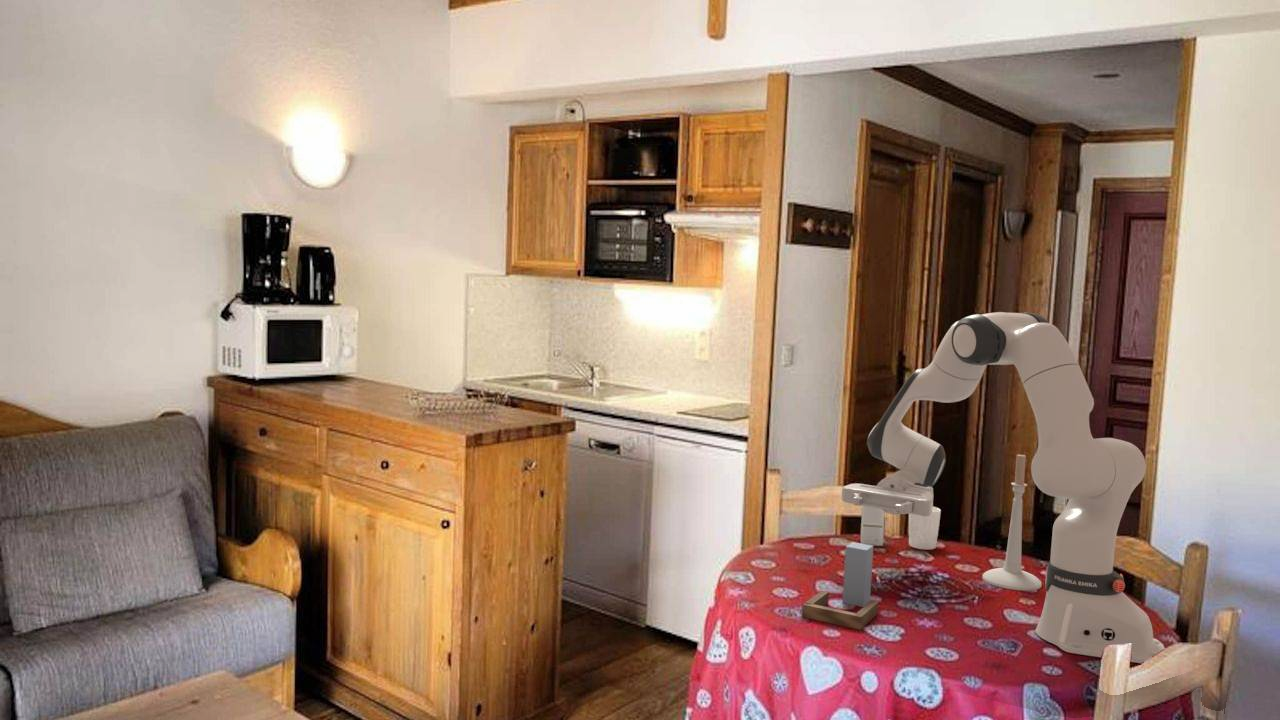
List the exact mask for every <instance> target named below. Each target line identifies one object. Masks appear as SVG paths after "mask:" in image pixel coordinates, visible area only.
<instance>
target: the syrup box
mask: <svg viewBox="0 0 1280 720" xmlns="http://www.w3.org/2000/svg"><path fill="white" fill-rule="evenodd" d="M885 513H886V512H884V511H883V510H882V509H880V508H874V507H868V506H863V505H861V515H860V516H861V518H860V519H861V523H860V543H861V544H867V545H872V546H879V547H880V546H881V547H883V545H884V531H885Z"/></svg>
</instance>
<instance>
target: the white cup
mask: <svg viewBox="0 0 1280 720" xmlns="http://www.w3.org/2000/svg"><path fill="white" fill-rule="evenodd" d="M941 512H942V510H941V509H940V508H939V507H937V506H933V508H932V514H931V515H930V516H921V515H915V514H908V545H909V547H911V548H913V549H918V550H926V551H927V550H935V549H936V547H937V544H938V543H937V540H938V536H939V530H940V528H939V527H940V520H941V514H942V513H941Z"/></svg>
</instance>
